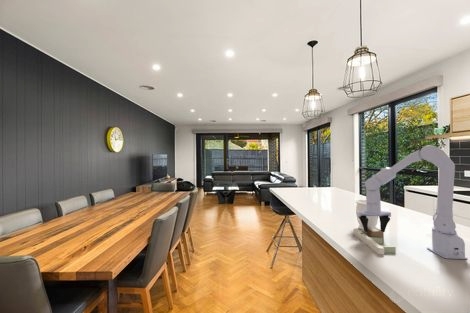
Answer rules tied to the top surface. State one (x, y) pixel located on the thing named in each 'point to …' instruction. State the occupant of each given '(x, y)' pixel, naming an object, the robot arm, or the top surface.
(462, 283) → the top surface
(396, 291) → the top surface
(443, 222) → the robot arm
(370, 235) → the cardboard box
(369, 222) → the jar
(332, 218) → the top surface
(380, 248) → the rack
